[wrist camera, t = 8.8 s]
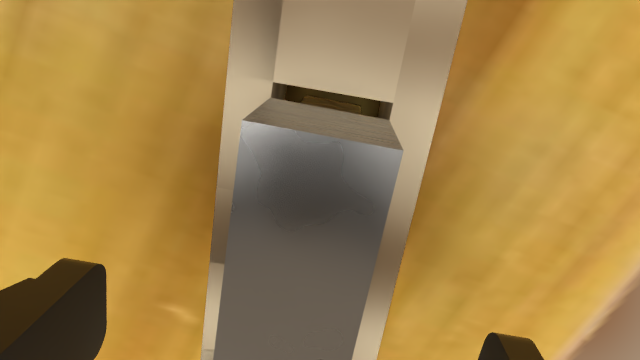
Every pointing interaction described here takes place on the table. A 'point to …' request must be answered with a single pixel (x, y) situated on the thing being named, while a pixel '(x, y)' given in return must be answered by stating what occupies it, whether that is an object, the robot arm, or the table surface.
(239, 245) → the grey notched block
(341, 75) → the rail
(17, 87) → the table surface
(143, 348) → the table surface
